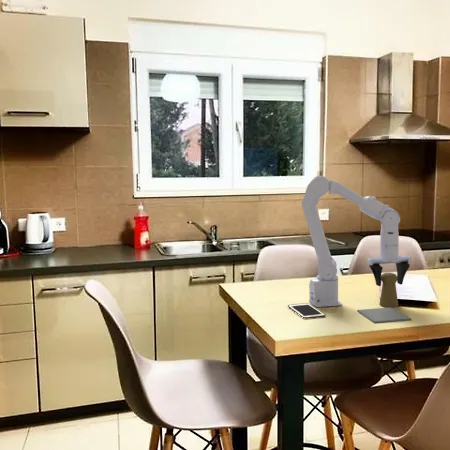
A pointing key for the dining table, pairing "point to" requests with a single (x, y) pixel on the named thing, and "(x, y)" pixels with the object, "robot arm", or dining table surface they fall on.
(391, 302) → the cork
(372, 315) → the slate mat
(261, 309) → the dining table surface
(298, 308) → the cell phone
